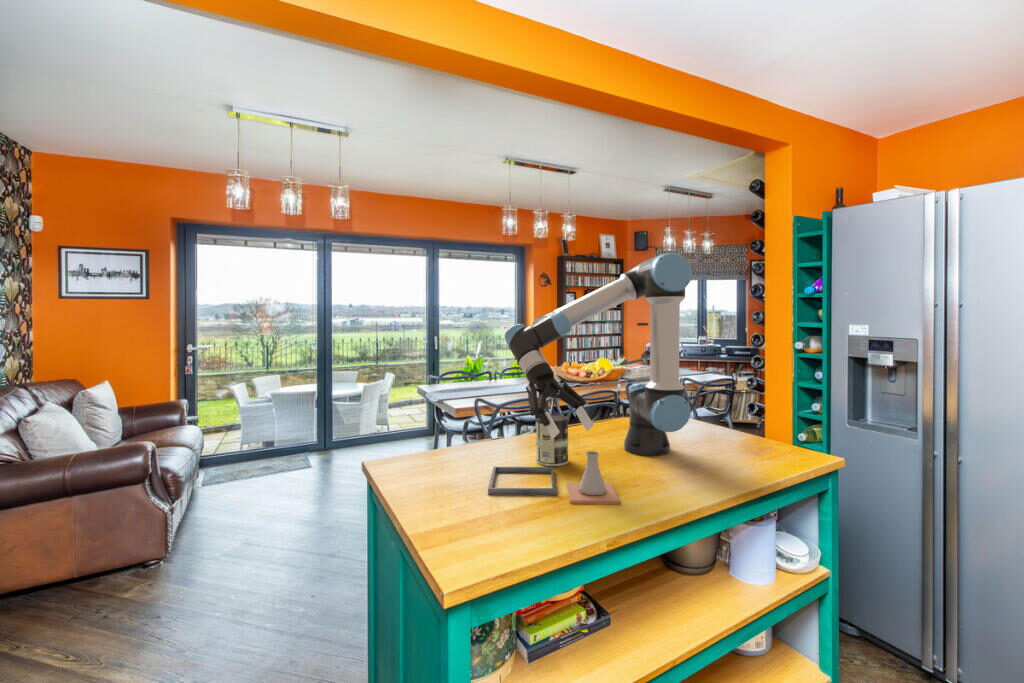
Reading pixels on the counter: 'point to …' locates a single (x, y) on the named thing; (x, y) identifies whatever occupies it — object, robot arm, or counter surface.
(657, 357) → the robot arm
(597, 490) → the flask
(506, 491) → the steel frame
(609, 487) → the terracotta tile
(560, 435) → the coffee can
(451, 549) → the counter surface
